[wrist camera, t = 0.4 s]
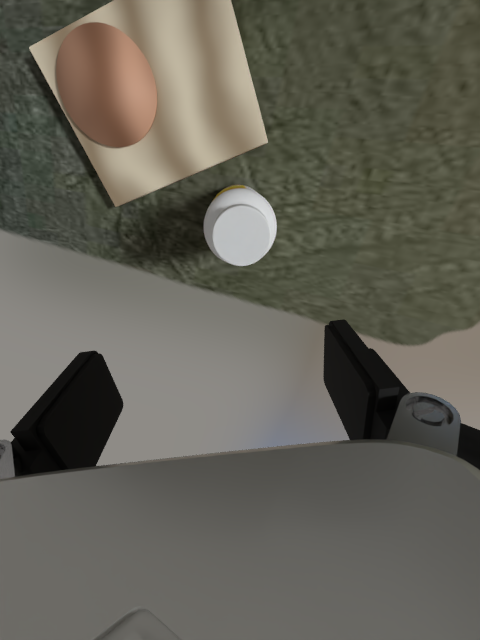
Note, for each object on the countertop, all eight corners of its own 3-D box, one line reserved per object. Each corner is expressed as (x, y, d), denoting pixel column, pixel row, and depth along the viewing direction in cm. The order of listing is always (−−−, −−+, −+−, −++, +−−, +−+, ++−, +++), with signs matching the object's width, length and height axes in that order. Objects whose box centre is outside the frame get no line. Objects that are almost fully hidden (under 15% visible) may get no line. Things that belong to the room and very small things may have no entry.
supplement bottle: (201, 226, 33) (184, 253, 22) (226, 172, 30) (222, 171, 19) (248, 252, 35) (255, 290, 23) (276, 203, 32) (299, 219, 21)
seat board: (217, -43, 23) (215, -61, 21) (266, 143, 29) (268, 141, 27) (39, 54, 25) (25, 45, 24) (120, 205, 32) (114, 207, 30)
